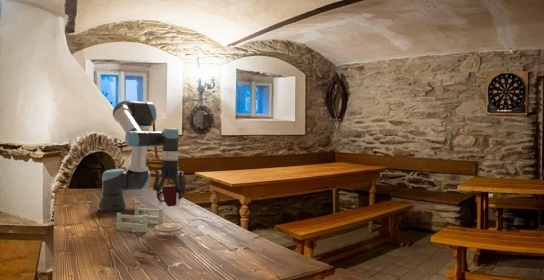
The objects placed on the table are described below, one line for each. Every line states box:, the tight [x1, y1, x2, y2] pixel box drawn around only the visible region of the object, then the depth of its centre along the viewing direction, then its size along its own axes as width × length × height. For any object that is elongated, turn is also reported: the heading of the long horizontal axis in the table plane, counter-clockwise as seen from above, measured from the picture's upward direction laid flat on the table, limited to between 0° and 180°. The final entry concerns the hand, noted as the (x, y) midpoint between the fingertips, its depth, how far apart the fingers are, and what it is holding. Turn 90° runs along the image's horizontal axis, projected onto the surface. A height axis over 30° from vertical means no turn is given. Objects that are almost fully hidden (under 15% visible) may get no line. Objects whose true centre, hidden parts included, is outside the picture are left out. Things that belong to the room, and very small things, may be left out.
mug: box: [156, 184, 178, 207], centre depth 202 cm, size 11×8×10 cm
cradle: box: [116, 205, 164, 233], centre depth 203 cm, size 15×18×8 cm
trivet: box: [154, 222, 183, 232], centre depth 202 cm, size 13×13×1 cm
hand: (169, 205), depth 202 cm, fingers closed on mug, 9 cm apart
